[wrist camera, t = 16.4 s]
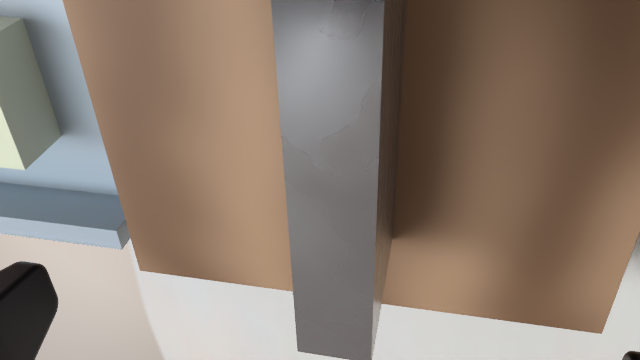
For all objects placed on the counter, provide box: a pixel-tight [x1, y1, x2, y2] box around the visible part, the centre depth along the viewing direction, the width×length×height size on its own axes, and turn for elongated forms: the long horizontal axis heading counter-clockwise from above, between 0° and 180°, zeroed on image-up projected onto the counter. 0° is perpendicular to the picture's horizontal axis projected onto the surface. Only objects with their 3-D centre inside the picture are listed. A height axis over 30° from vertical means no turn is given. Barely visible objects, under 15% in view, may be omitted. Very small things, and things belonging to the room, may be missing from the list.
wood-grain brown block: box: [62, 0, 640, 334], centre depth 17 cm, size 17×20×4 cm
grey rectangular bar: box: [271, 0, 407, 360], centre depth 14 cm, size 2×14×5 cm, turn 2°
